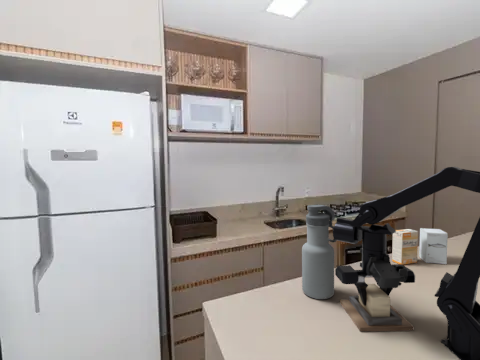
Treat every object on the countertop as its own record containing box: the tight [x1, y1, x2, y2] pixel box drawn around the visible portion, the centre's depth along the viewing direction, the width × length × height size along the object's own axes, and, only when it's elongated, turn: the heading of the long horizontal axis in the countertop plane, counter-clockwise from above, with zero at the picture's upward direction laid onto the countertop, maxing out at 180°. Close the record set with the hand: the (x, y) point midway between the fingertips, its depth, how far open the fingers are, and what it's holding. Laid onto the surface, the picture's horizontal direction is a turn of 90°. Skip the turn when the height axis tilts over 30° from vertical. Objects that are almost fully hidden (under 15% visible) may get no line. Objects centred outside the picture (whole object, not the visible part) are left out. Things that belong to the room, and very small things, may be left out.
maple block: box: [358, 283, 391, 317], centre depth 70 cm, size 8×4×5 cm, turn 0°
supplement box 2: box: [418, 227, 449, 265], centre depth 106 cm, size 7×7×13 cm
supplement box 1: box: [391, 228, 419, 266], centre depth 105 cm, size 8×5×13 cm, turn 105°
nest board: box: [339, 295, 414, 332], centre depth 70 cm, size 13×13×2 cm
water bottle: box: [301, 204, 337, 300], centre depth 82 cm, size 10×10×28 cm
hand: (373, 304), depth 70 cm, fingers closed on maple block, 4 cm apart
